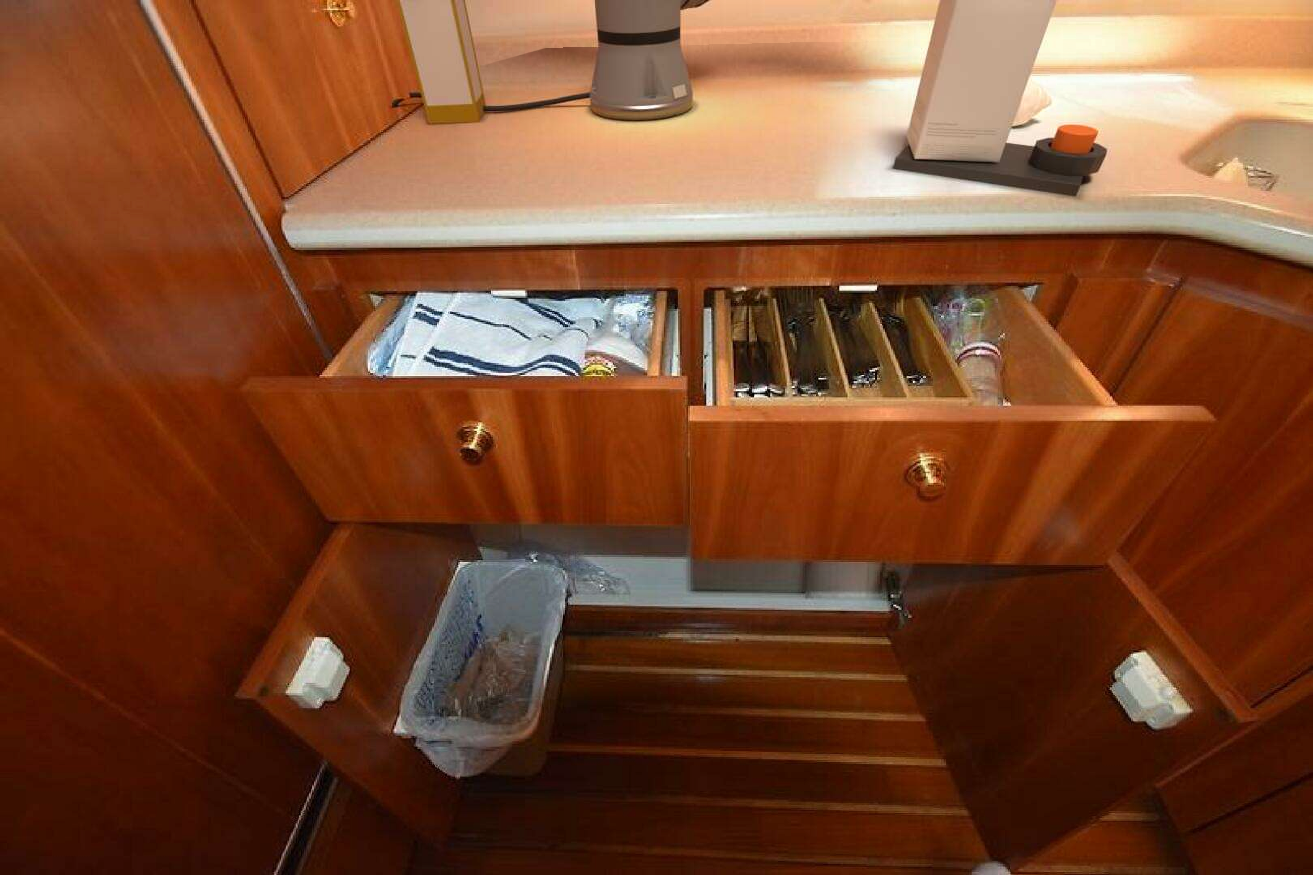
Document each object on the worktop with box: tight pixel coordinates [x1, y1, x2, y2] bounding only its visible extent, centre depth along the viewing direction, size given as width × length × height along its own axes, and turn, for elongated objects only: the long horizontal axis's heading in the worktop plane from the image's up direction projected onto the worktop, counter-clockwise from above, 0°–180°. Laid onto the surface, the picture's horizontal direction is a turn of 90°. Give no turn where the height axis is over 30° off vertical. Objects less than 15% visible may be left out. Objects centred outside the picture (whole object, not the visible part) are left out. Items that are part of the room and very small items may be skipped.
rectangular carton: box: [906, 0, 1058, 163], centre depth 61 cm, size 9×9×15 cm
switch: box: [1050, 124, 1099, 154], centre depth 60 cm, size 4×4×2 cm
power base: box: [892, 137, 1108, 198], centre depth 64 cm, size 19×11×3 cm, turn 59°
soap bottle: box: [395, 0, 487, 125], centre depth 77 cm, size 7×13×24 cm, turn 4°
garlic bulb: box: [1012, 77, 1053, 127], centre depth 75 cm, size 6×6×5 cm
